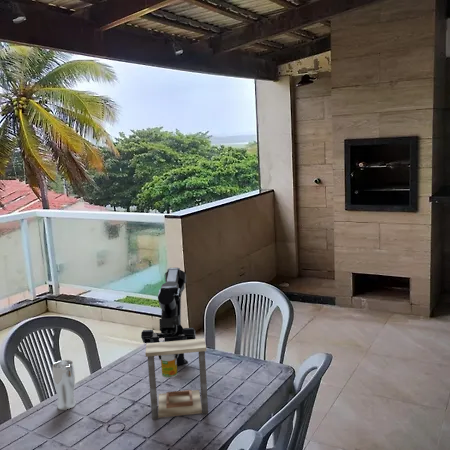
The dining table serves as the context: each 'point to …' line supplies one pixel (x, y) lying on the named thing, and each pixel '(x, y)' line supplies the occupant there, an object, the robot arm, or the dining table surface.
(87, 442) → the dining table surface
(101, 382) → the dining table surface
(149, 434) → the dining table surface
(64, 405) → the beer glass
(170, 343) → the wood and grey frame
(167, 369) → the supplement bottle
